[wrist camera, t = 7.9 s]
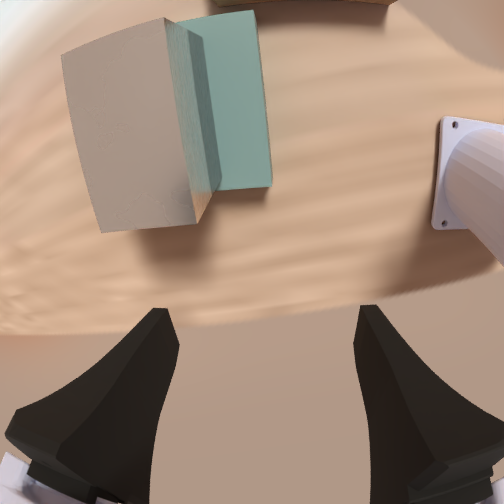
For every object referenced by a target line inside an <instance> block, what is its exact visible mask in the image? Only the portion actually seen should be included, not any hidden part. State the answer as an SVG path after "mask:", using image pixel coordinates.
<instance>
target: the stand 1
mask: <svg viewBox="0 0 504 504" xmlns="http://www.w3.org/2000/svg"><path fill="white" fill-rule="evenodd" d="M176 24H178V25H180V26H182V27H184V28H186V29H188V30H190V31H192V32H194V33H196V34H197V35H199V36H201V37H203V43H204V51H205V58H206V66H207V73H208V81H209V88H210V96H211V103H212V110H213V117H214V124H215V131H216V138H217V145H218V152H219V159H220V165H221V172H222V178H221V180H220V182H219V184H218V186H217V188H216V189H215V191H220V190H231V189H244V188H257V187H272V177H273V175H272V164H271V153H270V142H269V132H268V121H267V111H266V102H265V92H264V83H263V74H262V65H261V56H260V47H259V39H258V31H257V22H256V16H255V13H254V10H247V11H239V12H231V13H224V14H218V15H212V16H206V17H201V18H196V19H191V20H186V21H182V22H177V23H176Z"/></svg>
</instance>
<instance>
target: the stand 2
mask: <svg viewBox="0 0 504 504" xmlns="http://www.w3.org/2000/svg"><path fill="white" fill-rule="evenodd" d="M268 1H285V0H214V2H215V3H216V4H217V5H218V6H219V7H224V6H231V5H239V4H247V3H257V2H268ZM339 1H355V2H367V3H376V4H384V5H390V4H392V3H394V2H395V1H397V0H339Z"/></svg>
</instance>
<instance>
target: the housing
mask: <svg viewBox="0 0 504 504" xmlns="http://www.w3.org/2000/svg"><path fill="white" fill-rule="evenodd" d="M61 60H62V68H63V76H64V82H65V89H66V95H67V101H68V107H69V112H70V117H71V122H72V127H73V132H74V136H75V141H76V145H77V150H78V154H79V158H80V162H81V166H82V170H83V174H84V177H85V181H86V185H87V188H88V192H89V195H90V199H91V202H92V205H93V209H94V212H95V215H96V218H97V221H98V224H99V227H100V230H101V233H106V232H116V231H126V230H136V229H147V228H158V227H169V226H181V225H193V224H198V222H199V220H200V218H201V216H202V214H203V212H204V210H205V208H206V206H207V204H208V203H209V201H210V199H211V197H212V195H213V193H214V191H215V189H216V188H217V186H218V184H219V182H220V180H221V178H222V172H221V165H220V159H219V152H218V145H217V138H216V131H215V124H214V117H213V110H212V103H211V96H210V88H209V81H208V73H207V66H206V58H205V51H204V43H203V37H201V36H199V35H197V34H196V33H194V32H192V31H190V30H188V29H186V28H184V27H182V26H180V25H178V24H176V23H174V22H172V21H170V20H168V19H166V18H164V17H163V18H159V19H156V20H152V21H149V22H145V23H142V24H139V25H136V26H132V27H129V28H126V29H123V30H121V31H118V32H115V33H112V34H109V35H107V36H104V37H102V38H99V39H96V40H94V41H92V42H89V43H87V44H84V45H82V46H80V47H77V48H75V49H73V50H71V51H69V52H66V53H64V54H62V55H61Z"/></svg>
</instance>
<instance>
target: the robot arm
mask: <svg viewBox="0 0 504 504" xmlns="http://www.w3.org/2000/svg"><path fill="white" fill-rule="evenodd" d="M454 121H455V124H456V125H455V127H454V128H453V127H452V123H453V122H454ZM443 221H445V223H444V224H442V222H443ZM431 225H432V227H433V228H434V229H435V230H451V229H469V230H470V231H471V232H472V233H473V234H474V235H475V236H476V237H477V238H478V239H479V240H480V241H481V242H482V243H483V244H484V245H485V246H486V248H487V249H488V250H489V251H490V252H491V253H492V254H493V255H494V256H495V257H496V259H497V260H498V261H499V262H500V263H501V264H502V266H503V267H504V125H500V124H495V123H490V122H484V121H478V120H472V119H465V118H458V117H451V116H444V117H443V118H442V119H441V122H440V143H439V159H438V171H437V181H436V190H435V198H434V206H433V213H432V220H431ZM179 345H180V344H179V341H178V339H177V336H176V333H175V330H174V327H173V324H172V321H171V318H170V315H169V312H168V309H167V308H153V309H152V310H151V311H150V312H149V313H148V314H147V315H146V316H145V317H144V318H143V319H142V320H141V321H140V322H139V323H138V324H137V325H136V326H135V327H134V328H133V329H132V330H131V331H130V332H129V333H128V334H127V335H126V336H125V337H124V338H123V339H122V340H121V341H120V342H119V343H118V344H117V345H116V346H115V347H114V348H113V349H112V350H110V351H109V352H108V353H107V354H106V355H105V356H104V357H103V358H102V359H101V360H100V361H99V362H97V363H96V364H95V365H94V366H92V367H91V368H90V369H89V370H87V371H86V372H85V373H83V374H82V375H81V376H79V377H78V378H76V379H75V380H73V381H72V382H70V383H69V384H67V385H66V386H64V387H63V388H61V389H59V390H58V391H56V392H54V393H53V394H51V395H49V396H47V397H45V398H43V399H41V400H39V401H37V402H34V403H32V404H30V405H27V406H25V407H23V408H20V409H17V410H16V412H15V414H14V416H13V418H12V420H11V422H10V424H9V426H8V428H7V430H6V432H5V436H6V438H7V439H8V440H9V441H10V442H11V443H12V444H13V445H14V446H16V447H17V448H18V449H19V450H20V451H22V452H23V453H24V454H25V455H27V456H28V457H29V458H30V459H32V461H31V464H28V463H26V462H25V461H23V460H21V459H20V458H18V457H16V456H14V455H13V454H11V453H9V452H6V453H5V456H4V458H3V460H2V462H1V465H0V504H118V503H121V504H149V493H150V492H149V491H150V475H151V465H152V456H153V449H154V442H155V436H156V430H157V425H158V421H159V417H160V413H161V410H162V407H163V404H164V401H165V398H166V395H167V392H168V388H169V386H170V382H171V379H172V376H173V373H174V370H175V366H176V362H177V356H178V351H179ZM353 345H354V355H355V363H356V369H357V373H358V378H359V383H360V387H361V391H362V396H363V400H364V405H365V410H366V414H367V420H368V428H369V440H370V460H371V491H370V504H504V477H502V478H500V479H498V480H496V481H495V482H493V483H491V481H490V477H491V476H493V469H492V466H493V465H494V464H496V463H497V462H498V461H499V460H501V459H502V458H503V457H504V422H503V421H501V420H500V419H498V418H496V417H494V416H492V415H491V414H489V413H486V412H485V411H483V410H482V409H480V408H479V407H477V406H476V405H474V404H472V403H471V402H470V401H468V400H467V399H465V398H464V397H463V396H461V395H460V394H459V393H458V392H456V391H455V390H454V389H452V388H451V387H450V386H449V385H448V384H446V383H445V382H444V381H443V380H442V379H440V378H439V377H438V376H437V375H436V374H435V373H434V372H433V371H432V370H431V369H430V368H429V367H428V366H427V365H426V364H425V363H424V362H423V361H422V360H421V359H420V357H418V355H417V354H416V353H415V352H414V351H413V350H412V349H411V347H410V346H409V345H408V344H407V343H406V342H405V340H404V339H403V338H402V337H401V336H400V334H399V333H398V332H397V331H396V329H395V328H394V327H393V326H392V324H391V323H390V321H389V320H388V319H387V318H386V316H385V315H384V314H383V312H382V311H381V310H380V309H379V307H378V306H377V305H360V311H359V316H358V322H357V328H356V332H355V338H354V342H353Z"/></svg>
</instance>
